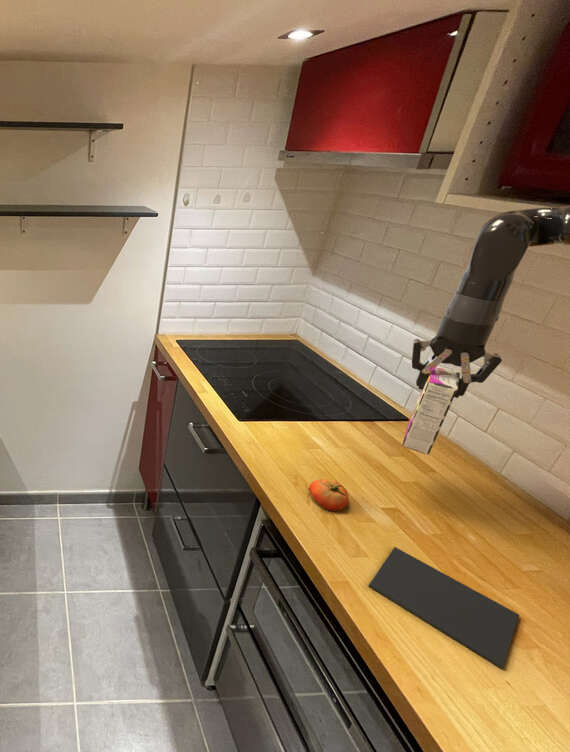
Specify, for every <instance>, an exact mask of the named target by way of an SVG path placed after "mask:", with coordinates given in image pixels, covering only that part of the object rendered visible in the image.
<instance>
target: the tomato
mask: <svg viewBox="0 0 570 752" xmlns="http://www.w3.org/2000/svg"><path fill="white" fill-rule="evenodd" d="M307 490H308V491H309V493H310V495H311V496H312V498H313V499H315V500H314V501H316V503H318V504H319V505H321V506H322V507H323V508H324V510H326V511H328V512H336V511H340V510H342V509H345V508H346V507H347V506H348V505H349V504H350V501H349V494H348V490H347V489H346V488H345V486H344V485H342V484H341V483H340V482H338V481H336V480H334V479H325V478H322V479H320V478H319V479H317V480H314V481H312V482H311V483H310V485H309V487H308V488H307Z"/></svg>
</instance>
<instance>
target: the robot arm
mask: <svg viewBox="0 0 570 752" xmlns="http://www.w3.org/2000/svg"><path fill="white" fill-rule="evenodd" d="M551 208H552V209H551ZM551 208H549V207H538V208H527V209H516V210H511V211H510V210H509V211H505V212H501V213H499V214H497V215H494V216H492V217H491V218H490V219H488V221H486V222H485V223H484V224H483V225H482V226H481V228H480V230H479V231H478V234H477V237H476V240H475V243H474V246H473V248H472V252H471V256H470V258H469V262H468V265H467V267H466V268H465V270H464V272H463V274H462V276H461V277H460V281H459V282H458V285H457V288H456V291H455V293H454V294H453V296H452V298H451V299H450V301H449V303H448V306H447V308H446V310H445V313H444V315H443V317H442V320H441V323H440V325H439V327H438V330H437V331H436V335H435V336H434V337H433V338H432V339H431V340H421V339H418V338H416V339H413V344H412V355H411V367H412V369H414V370H417V371H419V373H418V375H417V377H416V380H415V384H416V386H417V389H418V390H421V391H422V390H423V388H424V386H425V384H426V381H427V379H428V377H429V372H430V371H431V370H432V369H433V368H434V367H437V366H440V365H441V364H444V365H452V366H455V367H459V368H460V375H461V377H460V378H459V385H458V390H457V392H456V394H455V396H454V398H456V399H458V398H459V397H463V396H464V395H466V391H467V390H468V387H469V385H470V384H472V383H479V384H481V383H484V382H485V381H486V380H487V379H488V377H489V376H490V375H492V373H493V372H494V371H495V370H496V369H497V367H498V366H499V365H500V364H501V363H502V361H503V359H502V357H501V355H500V354H499V353H492V352H488V351H487V350H486V345H487V343H488V340H489V338H490V336H491V334H492V332H493V329H494V328H495V325H496V324H497V322H498V320H499V319H500V314H501V312H502V309H503V305H504V302H505V299H506V297H507V295H508V293H509V291H510V289H511V286H512V284H513V281H514V279H515V275H516V270H517V269H518V267H519V265H520V264H521V262H522V260H523V258H524V256H525V255H526V252H527V250H528V248H530V247H532V248H533V247H542V246H552V245H561V246H570V205H565V206H551ZM534 216H538V217H534ZM545 217H546V218H545ZM547 218H552V219H547ZM429 347H430V349H431V351H432V353H433V354H432V355H431V356H430V357H428V359H427V360H426V361H425V362H424V363H422V362H421V354H422V353H421V352H425V351H426V349H427V348H429ZM481 358H483V359H482V360H483V364H482V366H481V367H480V368H479V369H478V370H477V371H476V373H472V372H471V364H472V363H473V362H475V361H477V360H479V359H481Z"/></svg>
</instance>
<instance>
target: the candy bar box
mask: <svg viewBox="0 0 570 752" xmlns="http://www.w3.org/2000/svg"><path fill="white" fill-rule="evenodd" d="M459 378H461V370H458V369H455V368H454V369H453V368H449V367H446V366H441V365H438V366H437V367H434V368H433V369H432V370H431V371H430V372H429V377H428V379H427V381H426V384H425V386H424V388H423V390H421V391H420V393H419V395H418V398H417V401H416V403H415V406H414V408H413V411H412V413H411V417H410V419H409V421H408V424H407V427H406V430H405V434H404V437H403V441H402V445H401V446H402V447H404V448H406V449H408V450H411V451H415V452H418V453H420V454H424V455H427V456H428V455H430V453H431V450H432V448H433V446H434V444H435V442H436V439H437V437H438V436H439V432H440V431H441V428H442V426H443V424H444V421H445V419H446V417H447V415H448V412H449V410H450V408H451V406H452V403H453V401H454V398H455V397H454V396H455V394H456V392H457V390H458V385H459Z"/></svg>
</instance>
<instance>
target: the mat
mask: <svg viewBox="0 0 570 752" xmlns="http://www.w3.org/2000/svg"><path fill="white" fill-rule="evenodd" d="M368 588H370V589H372V590H373V591H375V592H376V593H378V594H380V595H381V596H383V597H384V598H386V599H388V600H390V601H391V602H393V603H394V604H396V605H397V606H399V607H401V608H402V609H404V610H406V611H407V612H409V614H412V615H413V616H415V617H417V618H418V619H420V620H421V621H423V622H425V623H427V624H428V625H429V626H431V627H433V628H434V629H436V630H438V631H439V632H441V633H443V634H444V635H446V636H447V637H449V638H450V639H452V640H454V641H456V642H457V643H458V644H460V645H462V646H464V647H465V648H467V649H469V650H470V651H471V652H473V653H474V654H476V655H477V656H479V657H481V658H483V659H484V660H486V661H488V662H489V663H491V664H492V665H494V666H496V667H498V668H499V669H500V670H503V668H504V666H505V664H506V660H507V657H508V654H509V650H510V646H511V644H512V641H513V637H514V633H515V631H516V627H517V623H518V620H519V617H520V614H519V613H518V612H515V611H514V610H512V609H510V608H508V607H506V606H505V605H503V604H500V603H499V602H497V601H495V600H493V599H491V598H490V597H488V596H486V595H484V594H483V593H481V592H479V591H477V590H475V589H473V588H471V587H469V586H467V585H466V584H464V583H462V582H461V581H458V580H456V579H455V578H453V577H452V576H449V575H447V574H445V573H444V572H442V571H440V570H438V569H437V568H435V567H433V566H431V565H429V564H428V563H426V562H424V561H422V560H419V559H418V558H416V557H414V556H413V555H411V554H409V553H407V552H405V551H403V550H402V549H400V548H398V547H397V546H394V547H393V548H392V550H391V552H390V553H389V554H388V556H387V557H386V558H385V560H384V562H383V563H382V565H381V566H380V568H379V569H378V571H377V572H376V573H375V575H374V577H373V578H372V579H371V580H370V582H369V584H368Z"/></svg>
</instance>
